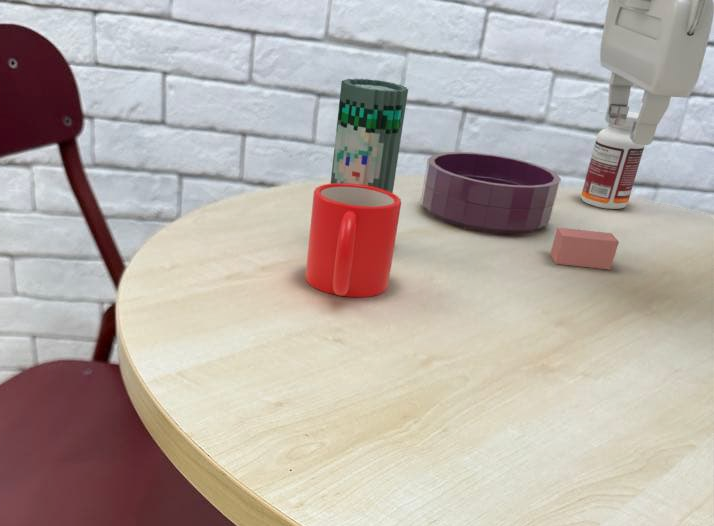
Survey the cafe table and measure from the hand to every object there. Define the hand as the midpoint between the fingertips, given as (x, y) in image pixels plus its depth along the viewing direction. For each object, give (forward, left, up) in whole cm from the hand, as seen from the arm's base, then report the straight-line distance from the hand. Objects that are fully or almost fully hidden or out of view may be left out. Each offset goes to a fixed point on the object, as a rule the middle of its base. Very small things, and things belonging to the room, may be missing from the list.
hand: (626, 133), depth 84 cm
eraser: (+1, 0, -13) cm, 13 cm away
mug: (+27, +16, -13) cm, 34 cm away
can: (+26, +2, -13) cm, 29 cm away
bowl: (+10, -14, -13) cm, 22 cm away
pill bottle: (-8, -27, -13) cm, 31 cm away
